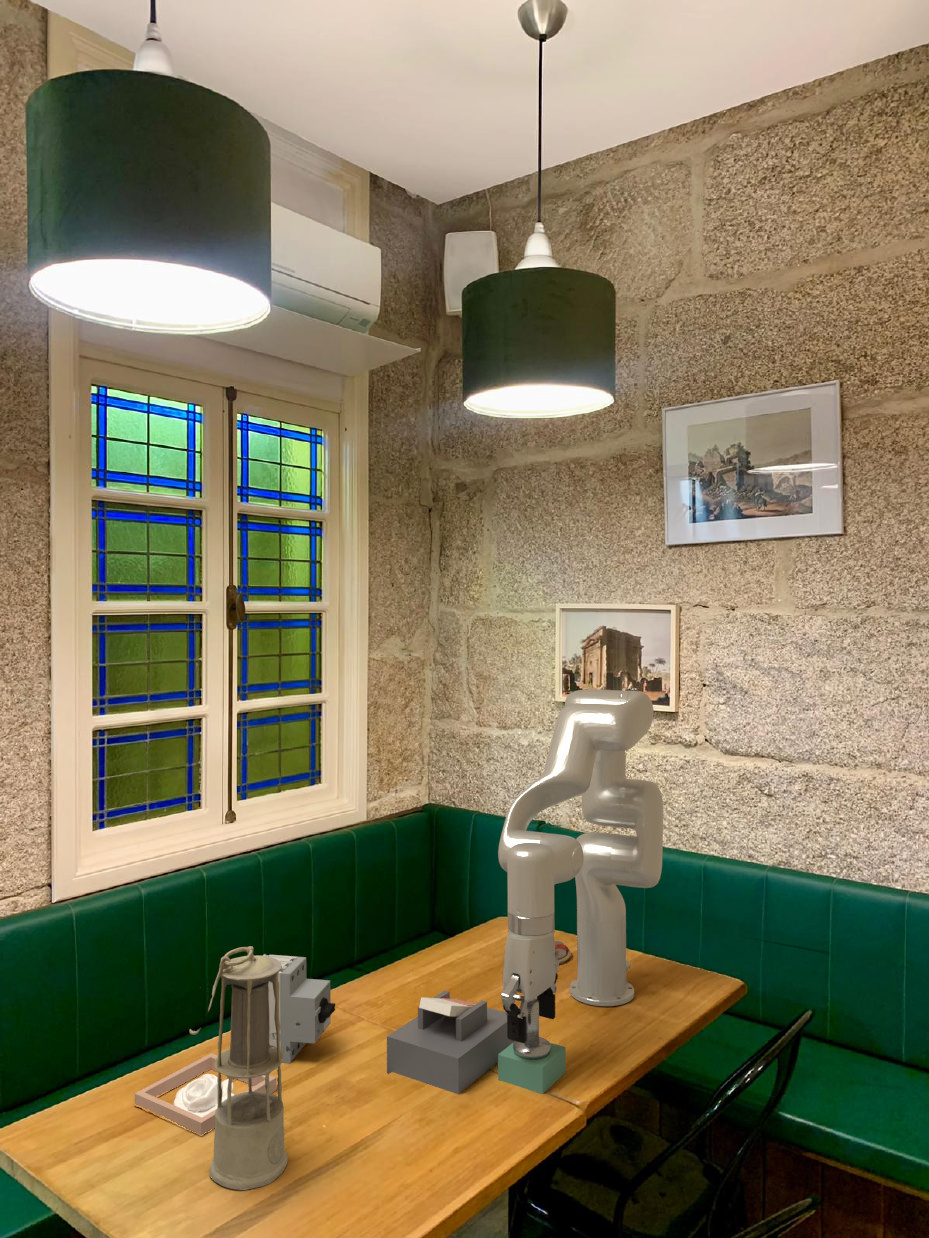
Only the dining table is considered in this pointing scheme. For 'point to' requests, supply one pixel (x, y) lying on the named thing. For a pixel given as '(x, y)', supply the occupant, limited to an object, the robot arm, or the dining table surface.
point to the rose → (201, 1095)
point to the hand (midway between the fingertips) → (531, 1028)
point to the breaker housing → (448, 1046)
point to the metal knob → (532, 1036)
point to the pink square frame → (169, 1111)
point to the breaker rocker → (445, 1006)
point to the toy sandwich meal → (561, 952)
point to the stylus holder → (532, 1069)
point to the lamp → (248, 1077)
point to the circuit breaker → (298, 1007)
